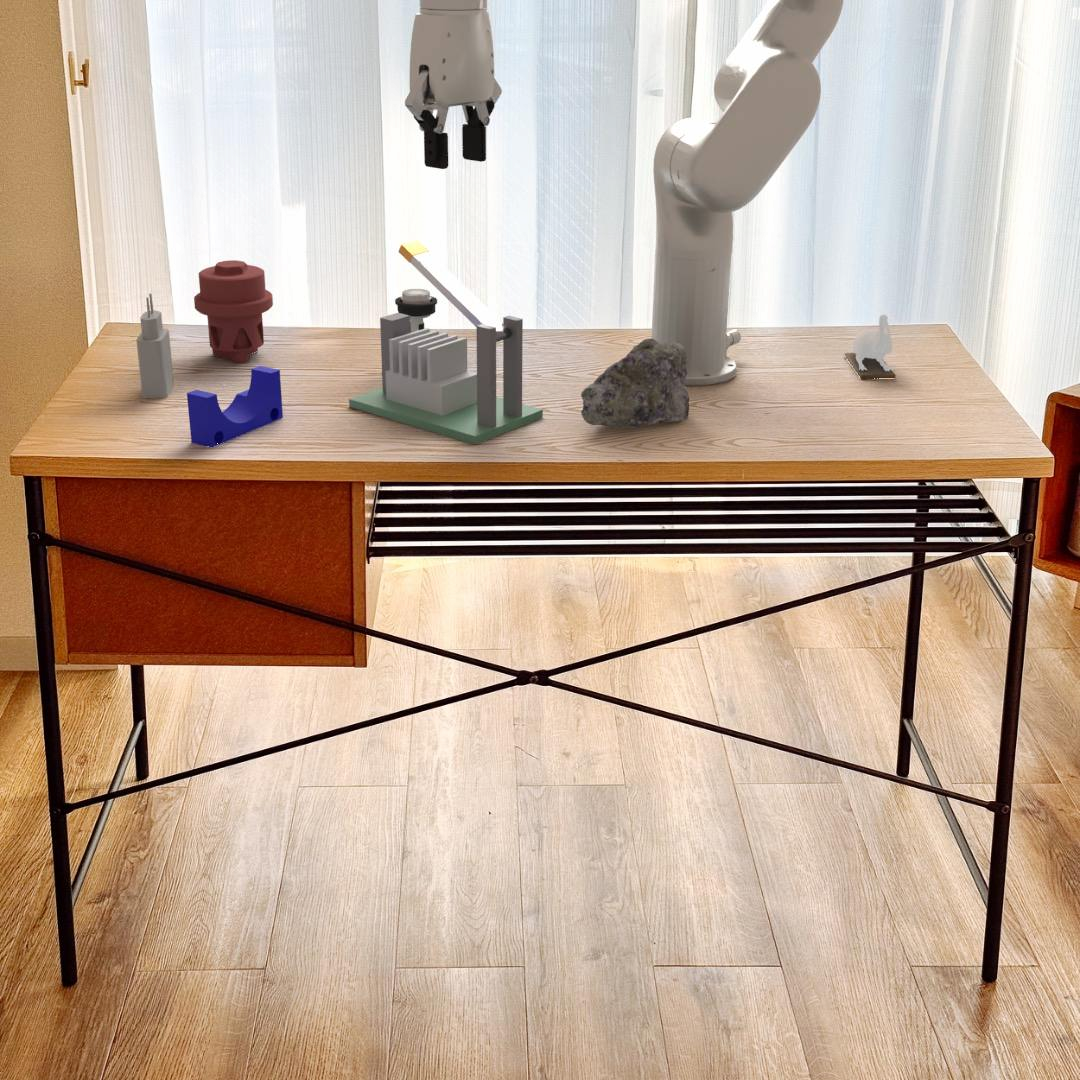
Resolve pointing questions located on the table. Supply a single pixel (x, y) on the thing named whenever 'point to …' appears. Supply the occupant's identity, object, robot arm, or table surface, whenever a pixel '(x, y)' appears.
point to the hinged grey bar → (452, 288)
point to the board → (449, 382)
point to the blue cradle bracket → (236, 409)
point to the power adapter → (154, 355)
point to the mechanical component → (233, 308)
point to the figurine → (872, 352)
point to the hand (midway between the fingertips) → (455, 162)
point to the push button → (416, 306)
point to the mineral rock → (640, 388)
